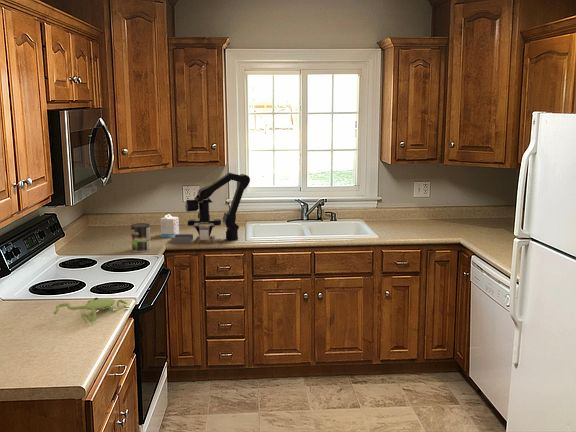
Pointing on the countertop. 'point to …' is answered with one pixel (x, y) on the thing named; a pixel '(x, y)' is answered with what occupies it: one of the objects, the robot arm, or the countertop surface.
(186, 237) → the grey drawer cabinet
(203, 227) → the grey-fronted drawer box
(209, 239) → the walnut tray
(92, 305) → the figurine
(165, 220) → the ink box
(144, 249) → the coffee can
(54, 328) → the countertop surface
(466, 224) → the countertop surface
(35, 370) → the countertop surface
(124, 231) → the countertop surface
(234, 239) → the robot arm
